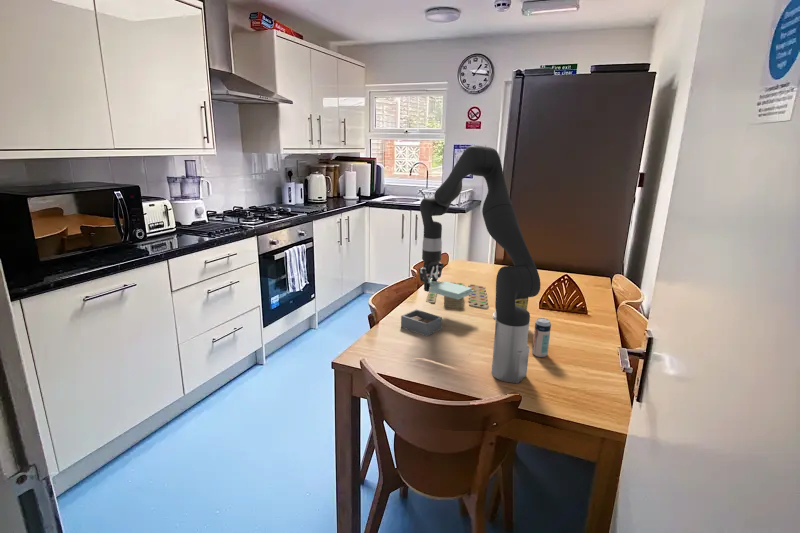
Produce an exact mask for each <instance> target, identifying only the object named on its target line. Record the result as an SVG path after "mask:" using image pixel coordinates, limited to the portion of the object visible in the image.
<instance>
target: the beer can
mask: <svg viewBox="0 0 800 533" xmlns="http://www.w3.org/2000/svg"><path fill="white" fill-rule="evenodd" d="M534 323H535V324H534V330H533V332H534V333H533V338H532V340H533V342H532V351H531V353H532V355H534V356H535V357H537V358H538V357H539V358H544V357H548V353H549V345H550V336H551V327H552V323H551V321H550V320H549V319H548V318H545V317H540V318H539V317H538V318H537V319H536V320H535V322H534Z"/></svg>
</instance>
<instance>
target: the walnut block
mask: <svg viewBox="0 0 800 533" xmlns="http://www.w3.org/2000/svg"><path fill="white" fill-rule="evenodd" d="M411 318H412V319H415V320H418V321H421V322H422V321H423V319H422V318H420V317H418V316H415V317H411Z"/></svg>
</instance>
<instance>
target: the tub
mask: <svg viewBox="0 0 800 533" xmlns="http://www.w3.org/2000/svg"><path fill="white" fill-rule="evenodd" d="M415 316H418V317H420V318H422V319H423V320H430V321H431V322H429V323H424V322H421V321H418V320H415V319H412V318H411V317H415ZM400 320H401V321H400V327H401V328H403V329H406V330H408V331H411V332H413V333H414V332H415V333H416V334H420V335H423V336H425V337H428V336H430V335H432V334H434V333H436V332H437V331H440V330H442V327H443V317H442V316H439V315H436V314H433V313H430V312H427V311H423V310H420V309H417V308H416V309H413V310H412V311H409V312H406V313H404V314H401V316H400Z"/></svg>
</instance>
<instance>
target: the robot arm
mask: <svg viewBox="0 0 800 533" xmlns="http://www.w3.org/2000/svg"><path fill="white" fill-rule="evenodd" d="M469 175H471V176H477V177H483V178H484V180H485V183H486V185H487V186H486V187H487V193H486V197H485V198H484V199H485V200H484V202H483V205H482V208H481V209H482V210H481V213H482V217H483V221H484V224H485V227H486V231H487V233H488V234H489V236H490V237H491V238H492V239H493V240H494V241H495V242H496V243H497V244H498V245H499V246H500V247H501V248H502V249H503V250H504V251H505V252H506V253H507V254H508V256H509V257H510V259H511V261H512V263H513V265H505V266H502V267H500V268H499V269H498V271H497V274H496V278H495V279H496V280H495V302H494V303H495V310H496V319H495V327H494V337H493V338H494V340H493V349H492V350H493V351H492V364H491V374H492V376H493V377H494V378H495V379H497V380H499V381H502V382H506V383H515V384H519V383H520V382H521V381H522V380H523V379H525V377H527V372H528V364H529V353H530V345H528V338H529V329H530V320H531V314H530V312H529V311H528V309H527V310H526V309H524V308H521V307H518V306H515V299H518V298H528V299H529V298H533V297H536V296H538V294H540V291H541V279H540V278H541V277H540V273H539V271H538V268H537V266H536V264H535V261H534V260H533V258H532V255H531V252H530V251H529V248H528V246H527V243H526V241H525V239H524V237H523V233H522V230H521V227H520V224H519V220H518V217H517V214H516V212H515V209H514V205H513V203H512V199H511V197H510V194H509V191H508V187H507V185H506V181H505V176H504V170H503V165H502V160H501V157H500V154H499V153H498V151H497V150H496V149H495V148H492V147H489V146H484V145H483V146H482V145H477V144H476V145H475V144H474V145H473V144H472V145H469V146H467V147H466V148H465V149H464V151H463V152H462V154H461V155H460V157H459V159H458V160H457V161H456V163H455V165H454V167H453V169H452V170H451V172H450V173H449V175H448V177H447V178H446V179H445V181H444V182H442V184H440V186H439V187H438V188H437V189H436V190H435V192H434V197H424V198H423V199H422V200H421V202H420V204H419V210H420V215H421V219H422V225H423V238H422V239H423V240H422V249H421V250H422V251H421V254H422V255H421V259H422V261H423V266H422V267H418V273H419V278H420V282H423V291H424V292H428V293H429V289H430V280H432V281H436V282H437V281H439V278H441V276H442V272H443V267H444V263H442V262H440V261H441V260H442V247H443V246H442V245H443V241H442V237H443V236H442V234H443V232H442V230H443V227H442V226H443V225H442V223H441V222H438V221H434V220H433V217H435V216H436V217H437V216H443V215H445V214H446V213H447V212H448V210H449V208H450V206H451V203H453V201H454V200H456V199H457V198H458V197H459V195H460V194H461V192H462V189H463V180H464V179H465V178H466V177H467V176H469Z"/></svg>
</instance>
